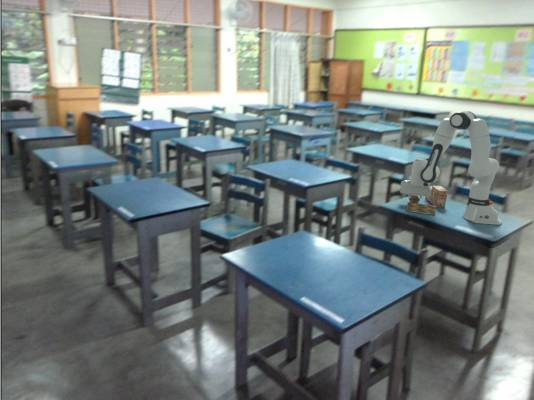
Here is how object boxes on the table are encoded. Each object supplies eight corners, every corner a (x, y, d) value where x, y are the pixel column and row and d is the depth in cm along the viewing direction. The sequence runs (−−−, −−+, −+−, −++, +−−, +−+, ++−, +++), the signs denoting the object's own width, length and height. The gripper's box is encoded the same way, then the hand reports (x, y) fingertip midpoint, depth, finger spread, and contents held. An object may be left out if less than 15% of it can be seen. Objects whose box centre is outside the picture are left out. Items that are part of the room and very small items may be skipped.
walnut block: (409, 201, 315) (410, 193, 313) (415, 201, 314) (416, 193, 312) (411, 206, 303) (412, 197, 302) (417, 206, 303) (418, 198, 301)
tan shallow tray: (434, 210, 297) (435, 205, 296) (435, 214, 288) (435, 210, 287) (407, 206, 302) (407, 202, 301) (406, 210, 293) (407, 206, 292)
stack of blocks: (424, 198, 323) (427, 181, 320) (433, 198, 324) (435, 182, 320) (436, 207, 303) (438, 190, 299) (445, 207, 303) (447, 190, 299)
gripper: (401, 180, 304) (398, 200, 308) (432, 184, 298) (429, 203, 302) (401, 178, 310) (399, 197, 314) (432, 182, 303) (429, 201, 308)
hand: (414, 200), depth 308 cm, fingers closed on walnut block, 4 cm apart
